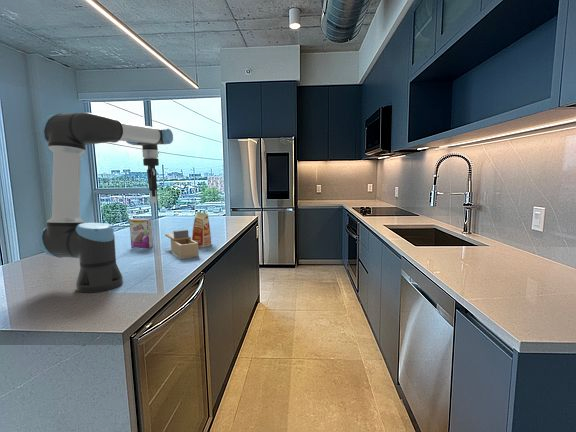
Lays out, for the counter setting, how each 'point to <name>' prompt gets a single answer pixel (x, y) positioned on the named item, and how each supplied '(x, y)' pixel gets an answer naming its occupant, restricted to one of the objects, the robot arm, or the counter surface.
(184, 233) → the mailer lid
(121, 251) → the counter surface
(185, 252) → the mailer box
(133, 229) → the candy bar box
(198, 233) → the milk carton
